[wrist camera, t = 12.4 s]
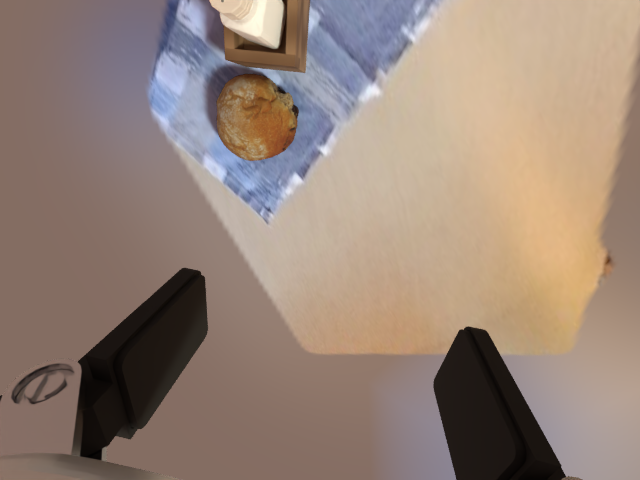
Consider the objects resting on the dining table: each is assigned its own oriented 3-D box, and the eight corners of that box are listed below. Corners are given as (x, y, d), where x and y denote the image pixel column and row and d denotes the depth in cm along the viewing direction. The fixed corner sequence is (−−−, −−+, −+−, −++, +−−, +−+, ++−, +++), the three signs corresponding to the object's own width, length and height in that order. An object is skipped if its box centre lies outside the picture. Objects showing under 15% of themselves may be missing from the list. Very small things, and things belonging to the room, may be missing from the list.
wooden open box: (245, -11, 31) (220, -36, 25) (310, -6, 30) (299, -31, 25) (246, 66, 34) (225, 59, 28) (305, 73, 33) (294, 66, 28)
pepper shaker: (253, -6, 28) (201, -59, 19) (290, 7, 28) (254, -41, 19) (246, 40, 30) (196, 10, 21) (280, 52, 30) (244, 27, 21)
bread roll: (244, 77, 38) (191, 71, 31) (305, 74, 32) (256, 67, 26) (251, 152, 42) (206, 160, 36) (305, 160, 37) (264, 170, 31)
